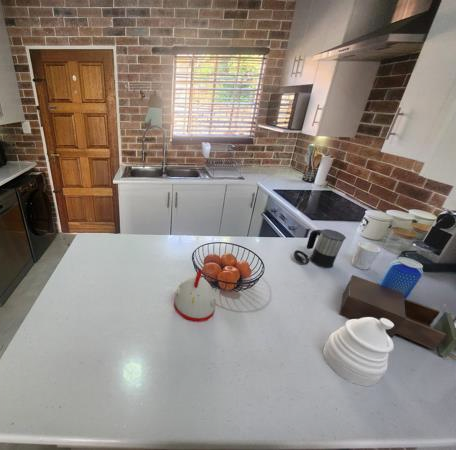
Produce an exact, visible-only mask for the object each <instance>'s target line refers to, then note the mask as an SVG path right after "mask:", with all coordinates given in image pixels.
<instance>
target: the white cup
mask: <svg viewBox="0 0 456 450" xmlns="http://www.w3.org/2000/svg"><path fill="white" fill-rule="evenodd" d="M380 252H381V248H380V247H379V246H377V245H375V244H372V243H370V242H366V241H359V242H357V245H356V248H355V250H354V252H353V255H352V258H351V261H350V264H351V265H352V266H353V267H354V268H356V269H359V270H364V271H366V270H367V271H368V270H370V268H371V266H372V265H373V264H374V262H375V260H376V259H377V258H378V256H379V254H380Z"/></svg>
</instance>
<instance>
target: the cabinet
mask: <svg viewBox="0 0 456 450" xmlns="http://www.w3.org/2000/svg"><path fill="white" fill-rule="evenodd" d="M338 315H339V316H342V317H344V318H346V319H348V320H350V319H360V318H365V317H373V318H376V319H378V320H379V321H380V319H381V318H385V319H388V320H390V321H391V322H392V323H393V324H394V326H393V327H392V328H391V329H385V331H386V333H387V334H388V336H389V337H390V338H391V339H393V338H394V336H395V335H396V332H397V330H398V329H399V328H400V326H401V325H402V323H403V322H404V320H405V319H406V315H405V305H404V296H403V293H402V292H399V291H397V290H394V289H391V288H388V287H385V286H382V285H380V284H379V283H377V282H374V281H371V280H368V279H366V278H362V277H360V276H357V275H354V274H352V275H351V277H350V279H349V281H348V282H347V285H346V287H345V289H344V291H343V295H342V299H341V305H340V309H339V312H338Z"/></svg>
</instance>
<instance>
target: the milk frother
mask: <svg viewBox="0 0 456 450" xmlns="http://www.w3.org/2000/svg"><path fill="white" fill-rule="evenodd" d="M317 237H318V239H317ZM346 238H347V237H346V235H344V234H343V233H341V232H339V231H336V230H334V229H329V228H325V229H324V228H323V229H314V230H312V231H311V232H310V233H309V236H308V239H307V244H306V249H308V250H312V249H313V251H312V254H311V256H309V255H307V253H305V252H304V251H302V250H300V249H296V250H294V252H293V257H294V259H295V261H296V262H297V263H299V264H301V265H309V263H310V261H311V262H312V263H313V264H314V265H316V266H318V267H320V268H326V269H331V268H333V267H334V263H335V261H336V258H337V256H338V254H339V252H340V250H341V247H342V245H343V243H344V241H345V240H347V239H346ZM316 241H317V242H316ZM315 243H316V244H315ZM301 255H302V256H303V257H304V258H303V257H302V256H301ZM305 260H306V261H305Z"/></svg>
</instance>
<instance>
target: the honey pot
mask: <svg viewBox="0 0 456 450" xmlns="http://www.w3.org/2000/svg"><path fill="white" fill-rule="evenodd" d="M393 326H394V324H393V323H392V322H391V321H390V320H388V319H385V318H381V319H380V321H379V320H378V319H376V318H373V317H365V318H360V319H348V320H347V321H346V322H345V323H344V325H343V326H341V327H339V328H338V329H337V330H335V331H333V332H332V333H331V334H330V335H329V337H328V338H327V341H326V342H325V344H324V347H322V348H323V349H322V354H323V358H324V360H325V361H326V363H327V364H328V365H329V367H330V368H331V369H332V370H333V371H334V372H335V373H336V374H337V375H338V376H340V377H341V378H343V379H344V380H346V381H348V382H350V383H352V384H354V385H356V386H357V385H358V386H361V387H367V388H369V387H373V386H375V385H377V384H378V383H379V381H380V380H382V378H383V376H384V375H385V373H386V372H387V369H388V367H389V365H388V361H389V359H388V358H389V356H390V354H389V353H391V352H392V351H393V350H394V348H395V344H394V342H393V340H392V338H391V337H389V336H388V334H387V333H386V331H385V329H391V328H392V327H393Z"/></svg>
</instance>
